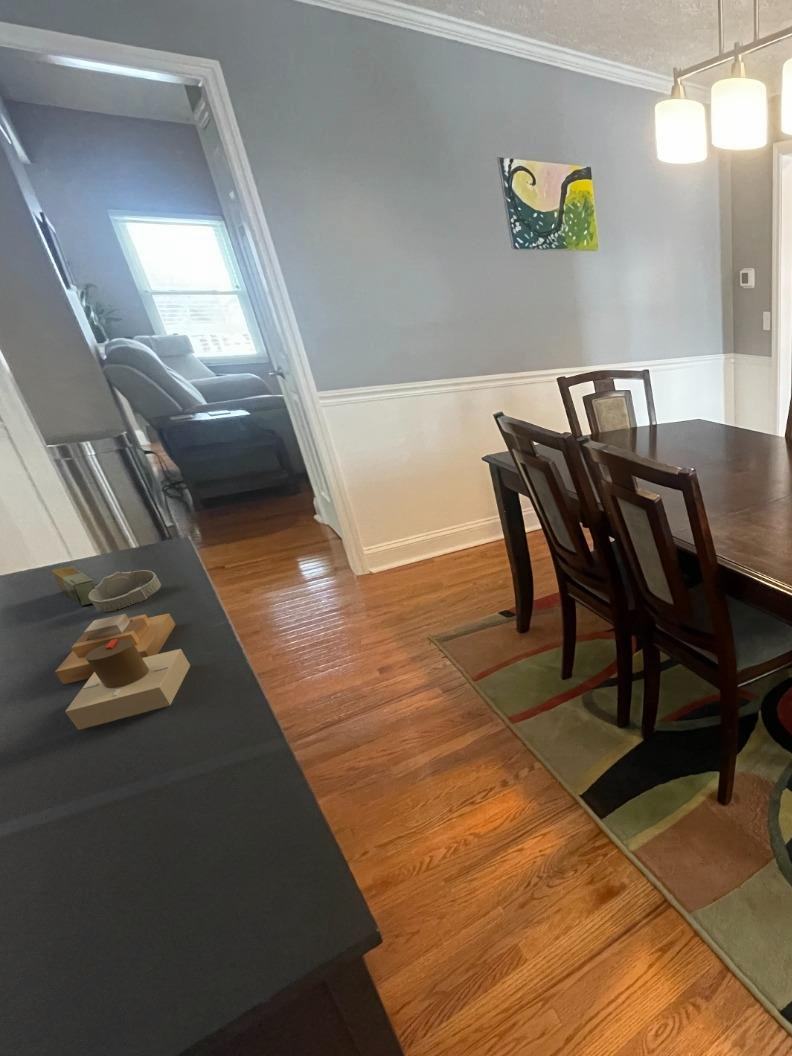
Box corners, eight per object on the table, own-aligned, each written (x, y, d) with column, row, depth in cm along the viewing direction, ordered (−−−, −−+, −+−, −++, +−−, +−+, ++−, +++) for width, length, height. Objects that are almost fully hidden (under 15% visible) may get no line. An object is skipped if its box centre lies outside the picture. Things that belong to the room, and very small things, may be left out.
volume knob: (143, 680, 78) (124, 650, 75) (98, 692, 76) (77, 661, 74) (153, 663, 81) (135, 634, 79) (110, 674, 79) (91, 644, 77)
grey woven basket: (153, 585, 109) (139, 561, 107) (173, 590, 107) (159, 566, 104) (88, 610, 101) (72, 584, 99) (108, 616, 99) (92, 590, 97)
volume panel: (78, 730, 74) (63, 710, 73) (107, 686, 82) (95, 667, 80) (170, 705, 78) (158, 686, 76) (190, 665, 86) (180, 647, 84)
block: (63, 684, 83) (47, 661, 81) (96, 642, 92) (82, 620, 90) (152, 662, 87) (138, 640, 85) (175, 624, 96) (163, 603, 94)
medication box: (103, 601, 104) (94, 580, 103) (81, 607, 102) (72, 585, 100) (79, 584, 110) (71, 564, 108) (58, 589, 108) (49, 569, 106)
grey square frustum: (90, 642, 86) (83, 631, 85) (99, 630, 88) (93, 620, 88) (123, 634, 87) (116, 624, 86) (131, 623, 90) (125, 613, 89)
